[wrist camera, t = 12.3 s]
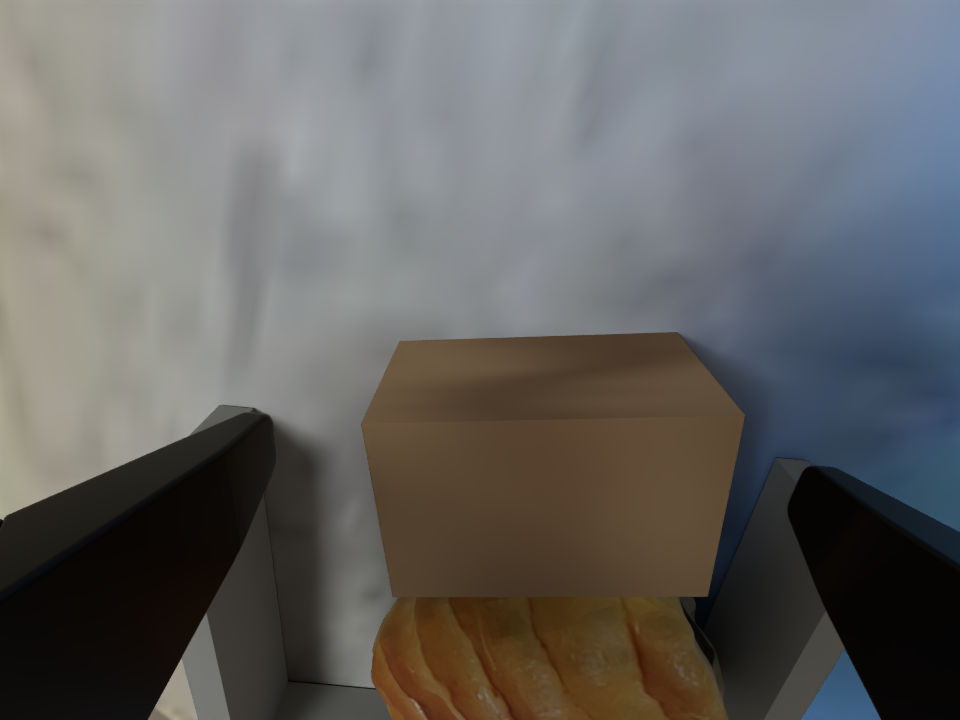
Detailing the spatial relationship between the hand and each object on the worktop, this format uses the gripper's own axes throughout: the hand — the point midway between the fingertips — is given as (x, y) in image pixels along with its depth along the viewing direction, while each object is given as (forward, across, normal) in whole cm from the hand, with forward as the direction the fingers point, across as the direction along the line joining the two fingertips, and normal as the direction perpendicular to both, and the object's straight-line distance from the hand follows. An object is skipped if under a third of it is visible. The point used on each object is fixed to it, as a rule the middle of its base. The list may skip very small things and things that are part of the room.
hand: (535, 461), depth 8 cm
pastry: (+4, -2, +7) cm, 8 cm away
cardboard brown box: (+3, 0, +1) cm, 3 cm away
